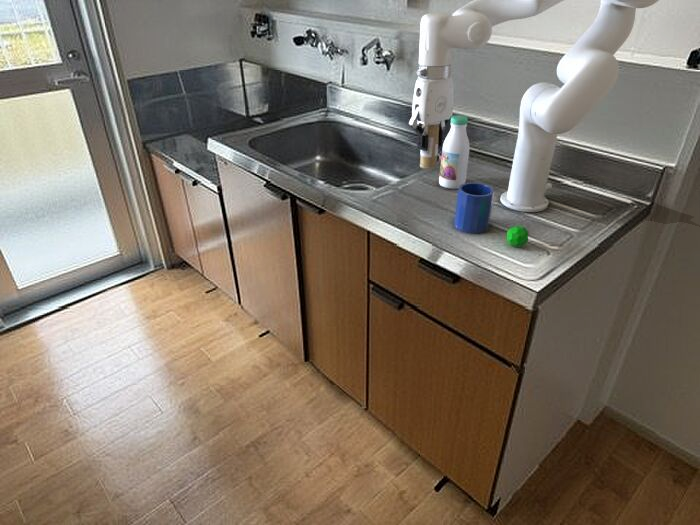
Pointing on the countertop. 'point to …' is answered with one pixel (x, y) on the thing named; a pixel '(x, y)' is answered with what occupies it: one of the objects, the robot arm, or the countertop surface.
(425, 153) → the sprinkles bottle
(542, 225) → the countertop surface
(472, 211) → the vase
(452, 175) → the milk bottle
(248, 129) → the countertop surface
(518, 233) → the polyhedron
